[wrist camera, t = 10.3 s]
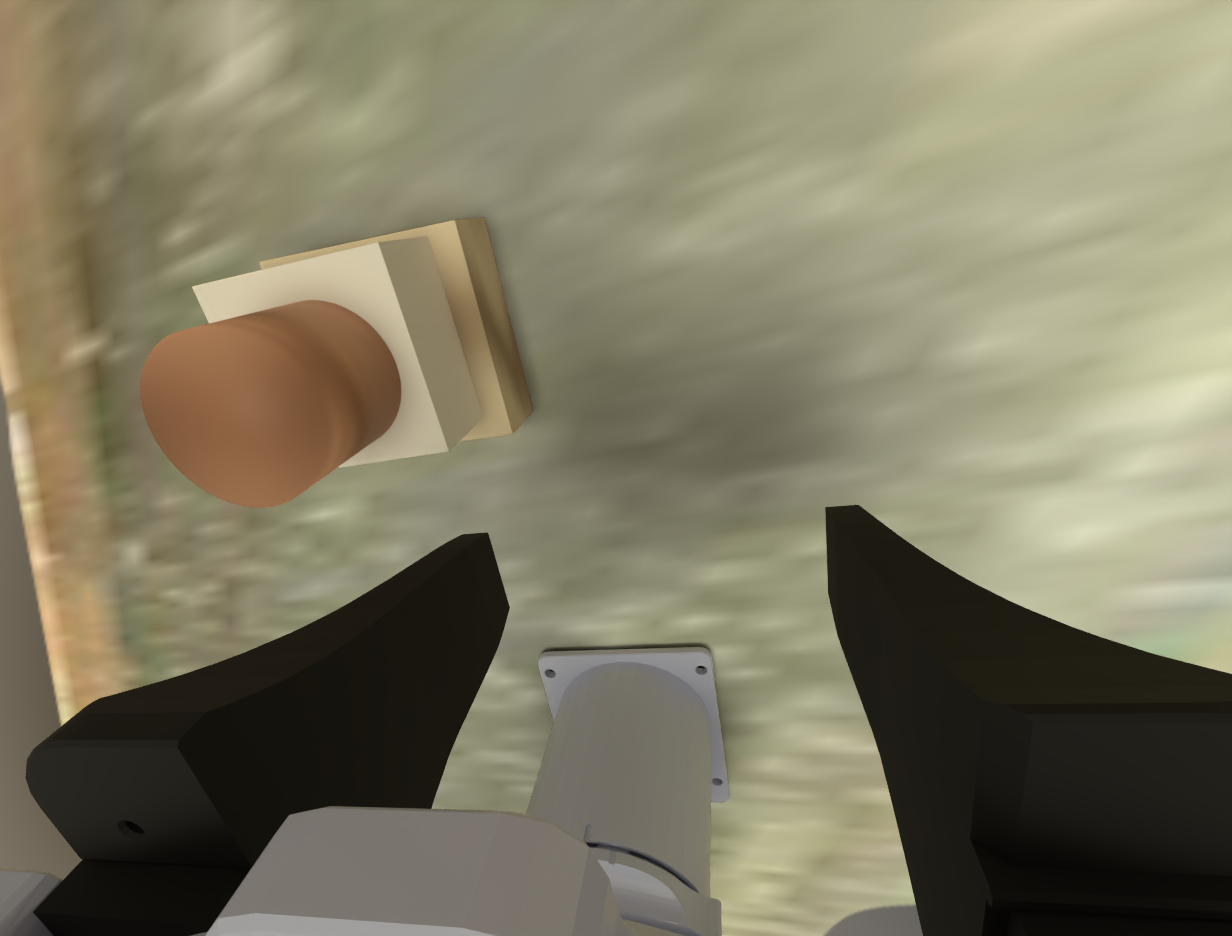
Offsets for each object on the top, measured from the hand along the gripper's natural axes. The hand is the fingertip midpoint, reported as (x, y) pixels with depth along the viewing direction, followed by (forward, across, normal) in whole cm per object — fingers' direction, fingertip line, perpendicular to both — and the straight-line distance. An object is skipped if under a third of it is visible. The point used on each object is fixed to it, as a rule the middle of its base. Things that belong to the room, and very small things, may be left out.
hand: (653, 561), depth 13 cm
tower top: (+8, +10, -4) cm, 13 cm away
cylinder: (+5, +10, -4) cm, 11 cm away
